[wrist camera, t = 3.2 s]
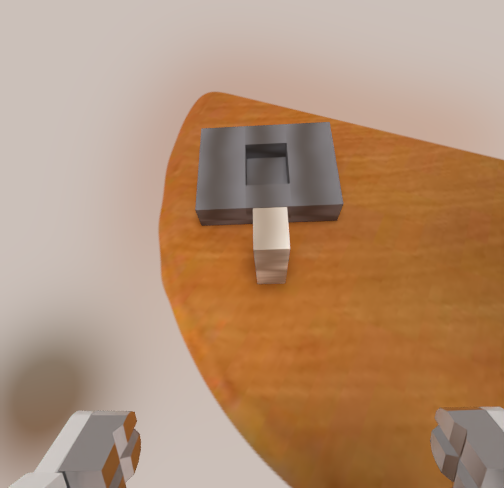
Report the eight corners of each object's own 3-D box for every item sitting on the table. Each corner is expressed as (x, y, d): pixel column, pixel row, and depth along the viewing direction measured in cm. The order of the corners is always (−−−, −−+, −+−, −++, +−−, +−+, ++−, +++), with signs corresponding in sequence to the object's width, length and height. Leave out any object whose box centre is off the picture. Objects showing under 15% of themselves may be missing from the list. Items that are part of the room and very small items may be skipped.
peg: (283, 249, 35) (287, 206, 27) (285, 283, 33) (290, 248, 25) (256, 250, 35) (252, 208, 27) (257, 284, 33) (253, 249, 25)
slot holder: (324, 142, 41) (329, 122, 38) (336, 220, 36) (343, 204, 33) (206, 148, 42) (201, 128, 39) (201, 225, 37) (195, 210, 33)
